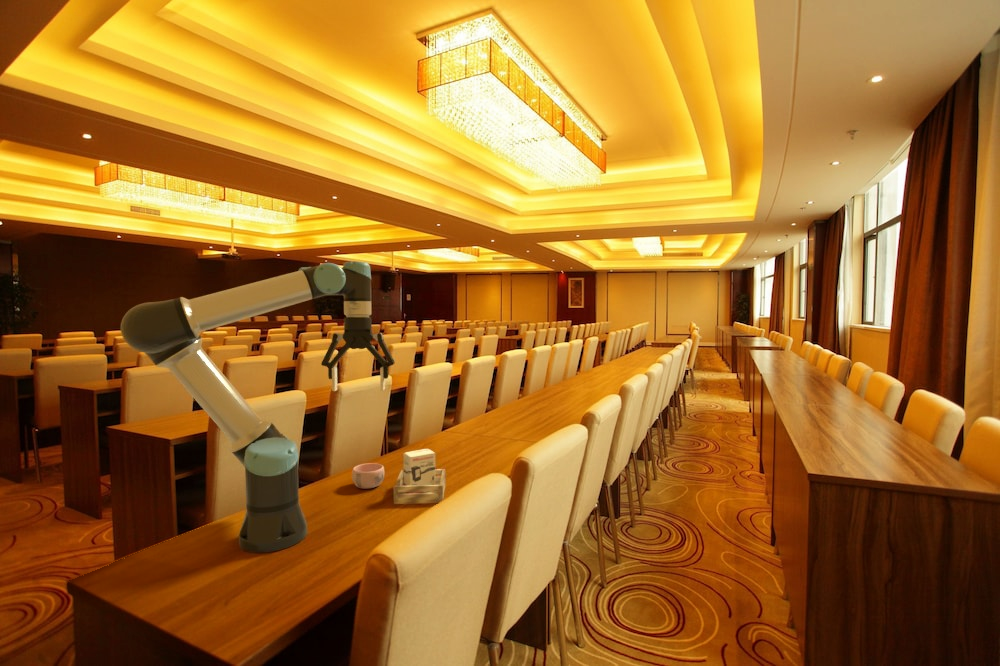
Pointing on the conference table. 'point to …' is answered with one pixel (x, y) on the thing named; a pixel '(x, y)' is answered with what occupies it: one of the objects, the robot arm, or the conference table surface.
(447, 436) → the conference table surface
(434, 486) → the crate
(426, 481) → the ink box
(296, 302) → the robot arm
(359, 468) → the pink bowl
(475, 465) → the conference table surface
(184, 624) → the conference table surface
